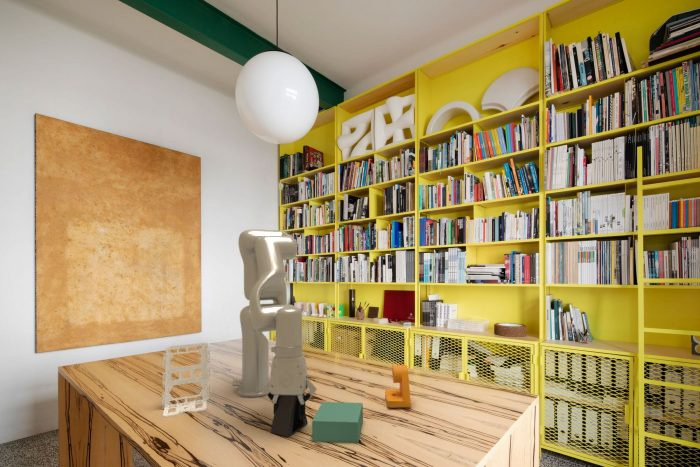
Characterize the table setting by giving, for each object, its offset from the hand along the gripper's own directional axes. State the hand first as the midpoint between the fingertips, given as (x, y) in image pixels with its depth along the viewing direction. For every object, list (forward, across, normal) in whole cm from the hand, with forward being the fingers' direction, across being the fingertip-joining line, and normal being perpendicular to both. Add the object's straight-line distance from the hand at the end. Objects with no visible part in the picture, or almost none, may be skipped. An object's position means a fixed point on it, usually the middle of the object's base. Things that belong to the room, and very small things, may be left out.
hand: (289, 416), depth 98 cm
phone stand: (+3, 0, 0) cm, 3 cm away
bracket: (+3, +30, +20) cm, 37 cm away
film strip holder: (+4, -40, +13) cm, 42 cm away
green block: (+3, +14, 0) cm, 14 cm away
